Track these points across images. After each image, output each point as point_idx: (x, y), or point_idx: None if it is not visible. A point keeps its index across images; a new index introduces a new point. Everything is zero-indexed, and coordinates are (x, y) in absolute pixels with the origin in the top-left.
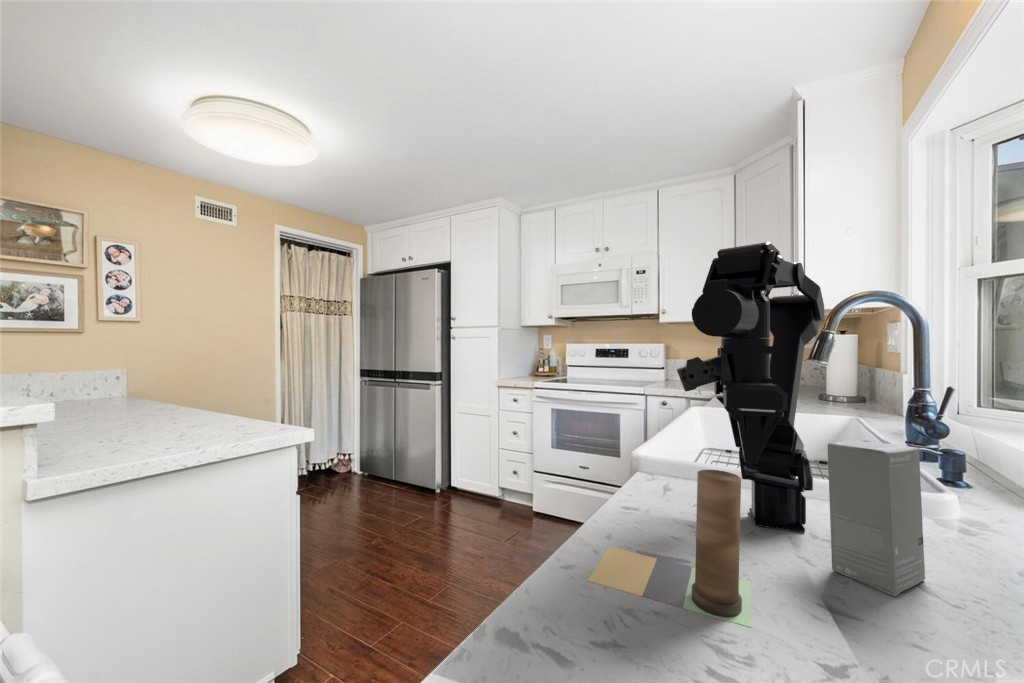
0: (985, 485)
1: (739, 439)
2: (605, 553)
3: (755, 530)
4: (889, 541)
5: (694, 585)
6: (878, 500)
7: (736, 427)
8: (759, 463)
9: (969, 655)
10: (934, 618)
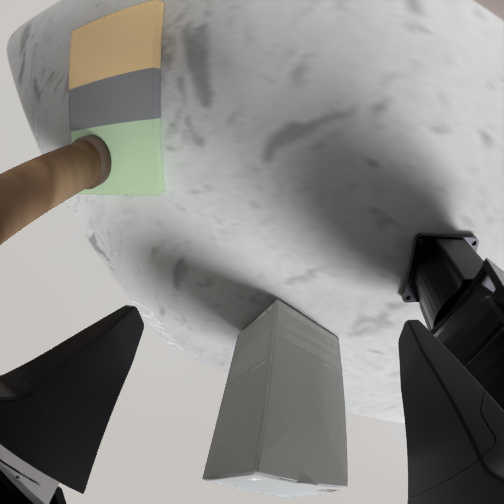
0: None
1: (410, 356)
2: (134, 6)
3: (399, 228)
4: (228, 375)
5: (84, 139)
6: (222, 414)
7: (431, 397)
8: (453, 325)
9: (174, 335)
10: (218, 341)
